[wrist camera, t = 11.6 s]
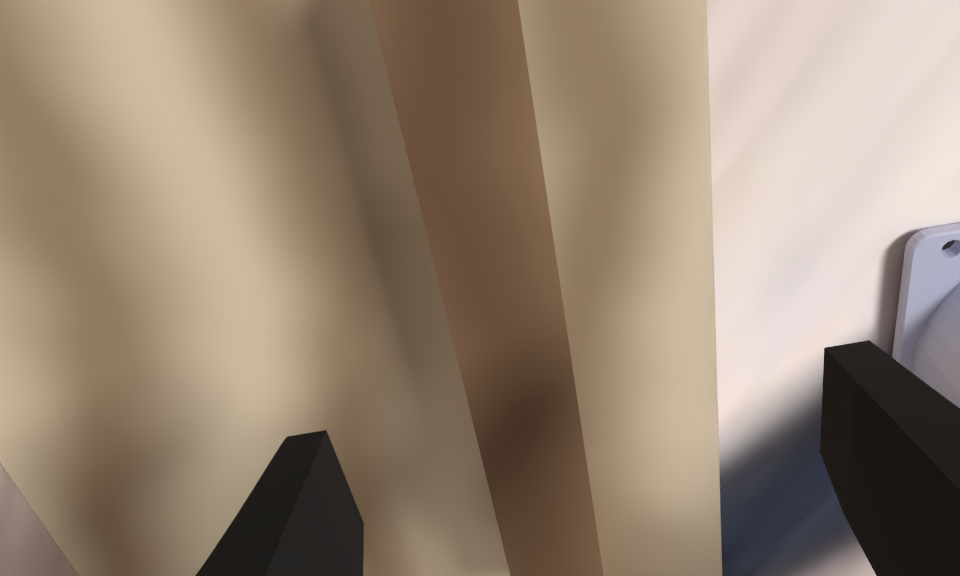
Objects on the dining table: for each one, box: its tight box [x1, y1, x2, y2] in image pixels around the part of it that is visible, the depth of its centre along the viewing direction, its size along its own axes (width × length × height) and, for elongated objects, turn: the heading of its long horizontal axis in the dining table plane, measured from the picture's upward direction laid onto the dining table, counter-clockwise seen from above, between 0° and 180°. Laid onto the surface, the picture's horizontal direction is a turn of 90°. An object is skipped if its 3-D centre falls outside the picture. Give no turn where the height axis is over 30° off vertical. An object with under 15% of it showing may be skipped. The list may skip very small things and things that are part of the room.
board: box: [0, 0, 722, 576], centre depth 25 cm, size 20×32×1 cm, turn 10°
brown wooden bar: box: [369, 0, 604, 576], centre depth 20 cm, size 2×18×3 cm, turn 10°
